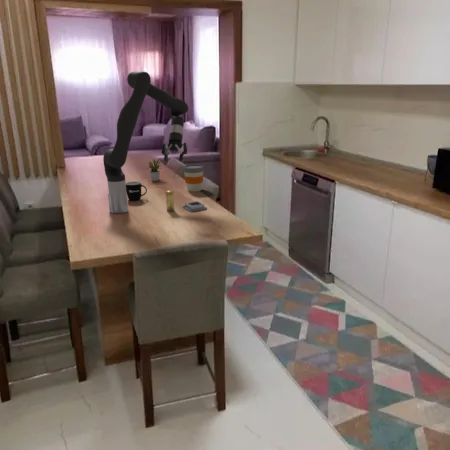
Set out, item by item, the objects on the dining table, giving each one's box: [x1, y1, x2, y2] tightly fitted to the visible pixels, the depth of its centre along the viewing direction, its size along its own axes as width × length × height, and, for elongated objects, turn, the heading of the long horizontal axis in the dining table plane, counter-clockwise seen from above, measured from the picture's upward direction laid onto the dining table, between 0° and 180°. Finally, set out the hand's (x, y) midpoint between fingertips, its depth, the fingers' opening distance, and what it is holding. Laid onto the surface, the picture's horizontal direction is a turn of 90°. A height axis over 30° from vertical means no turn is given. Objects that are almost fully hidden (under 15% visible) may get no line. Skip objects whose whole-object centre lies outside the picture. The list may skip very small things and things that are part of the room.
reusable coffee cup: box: [183, 164, 205, 192], centre depth 275 cm, size 13×13×15 cm
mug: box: [126, 180, 148, 202], centre depth 256 cm, size 12×9×10 cm
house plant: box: [145, 157, 163, 182], centre depth 303 cm, size 14×14×16 cm
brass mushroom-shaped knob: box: [164, 189, 175, 213], centre depth 233 cm, size 5×5×11 cm
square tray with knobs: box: [182, 200, 208, 213], centre depth 237 cm, size 10×10×3 cm
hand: (173, 161), depth 239 cm, fingers open, 8 cm apart
